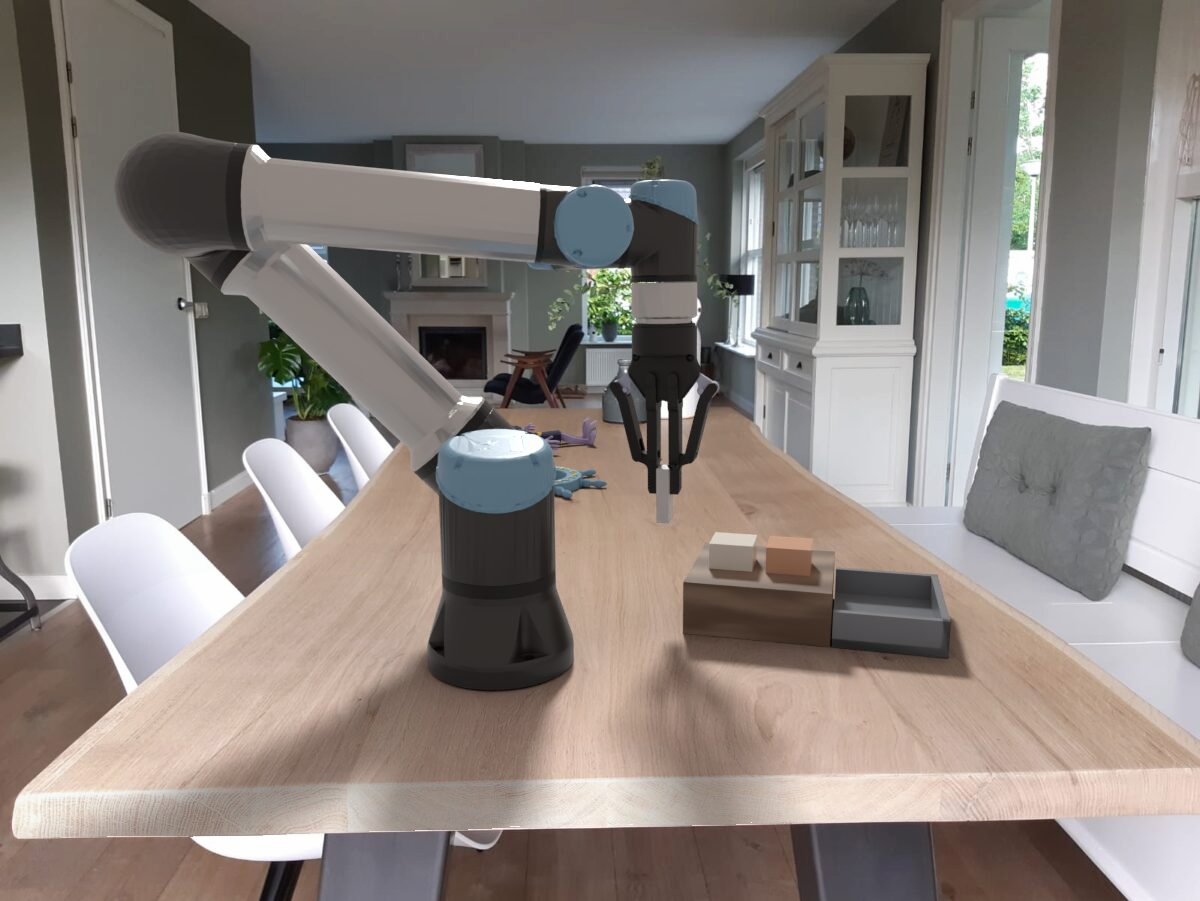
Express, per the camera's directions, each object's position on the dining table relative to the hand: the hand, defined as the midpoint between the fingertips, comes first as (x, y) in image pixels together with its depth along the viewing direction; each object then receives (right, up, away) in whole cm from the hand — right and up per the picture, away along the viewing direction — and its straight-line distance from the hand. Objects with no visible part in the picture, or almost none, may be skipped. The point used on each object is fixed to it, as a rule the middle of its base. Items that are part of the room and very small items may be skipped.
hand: (664, 520), depth 109 cm
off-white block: (+8, -5, -1) cm, 10 cm away
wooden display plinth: (+11, -11, -1) cm, 16 cm away
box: (+25, -12, -5) cm, 28 cm away
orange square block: (+14, -5, -3) cm, 15 cm away
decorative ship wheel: (-21, +1, +69) cm, 72 cm away
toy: (-24, +9, +110) cm, 113 cm away
